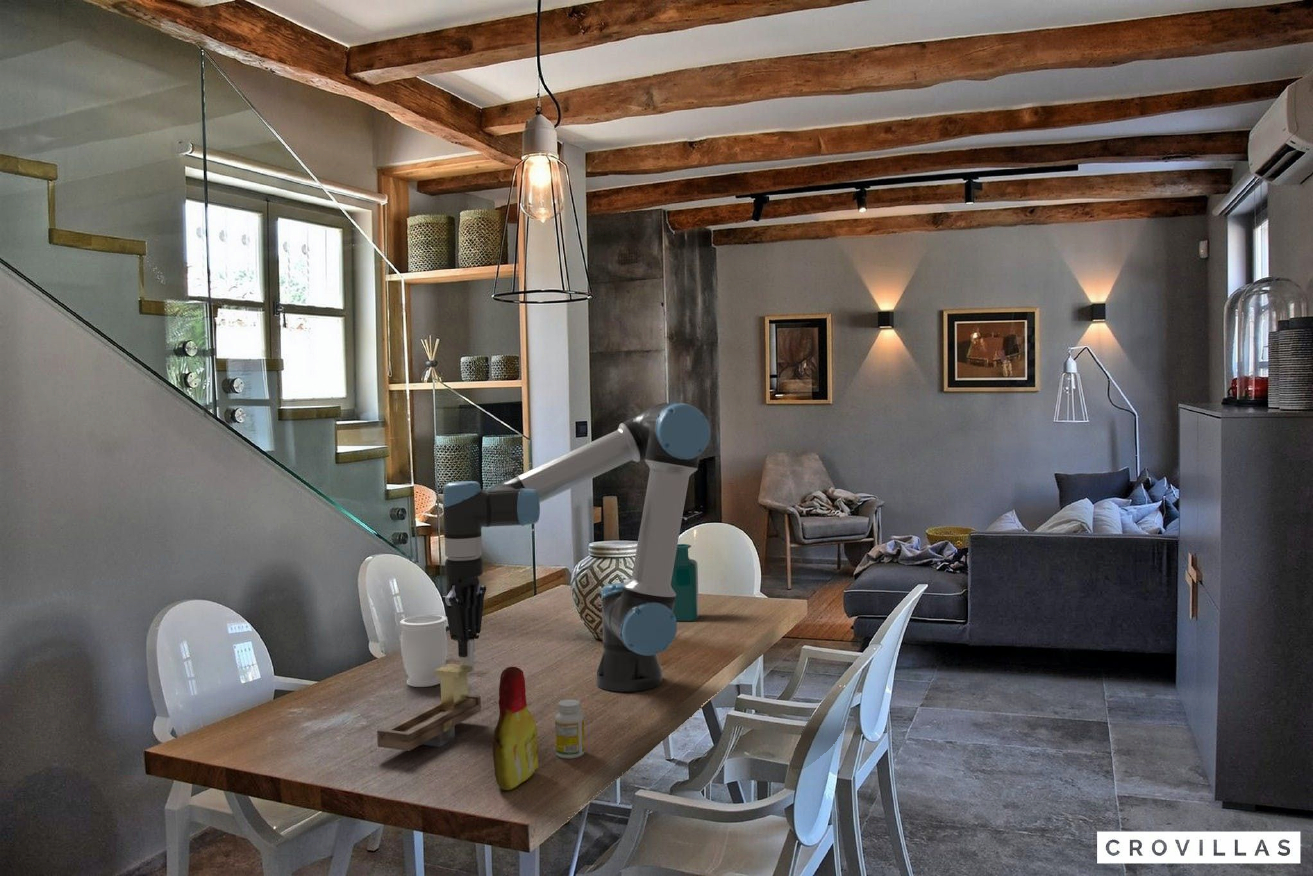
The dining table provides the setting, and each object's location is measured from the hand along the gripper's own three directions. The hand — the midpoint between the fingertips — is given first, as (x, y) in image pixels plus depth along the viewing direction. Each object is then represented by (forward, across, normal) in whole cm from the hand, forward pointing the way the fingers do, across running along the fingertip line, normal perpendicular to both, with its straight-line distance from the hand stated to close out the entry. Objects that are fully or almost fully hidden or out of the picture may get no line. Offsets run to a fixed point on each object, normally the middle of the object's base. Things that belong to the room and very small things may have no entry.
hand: (467, 671), depth 205 cm
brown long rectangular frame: (+10, +13, 0) cm, 16 cm away
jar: (+10, -20, -25) cm, 33 cm away
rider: (+6, +5, 0) cm, 8 cm away
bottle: (+10, +26, +26) cm, 38 cm away
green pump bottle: (+10, -98, +10) cm, 99 cm away
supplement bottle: (+10, +11, +29) cm, 33 cm away
